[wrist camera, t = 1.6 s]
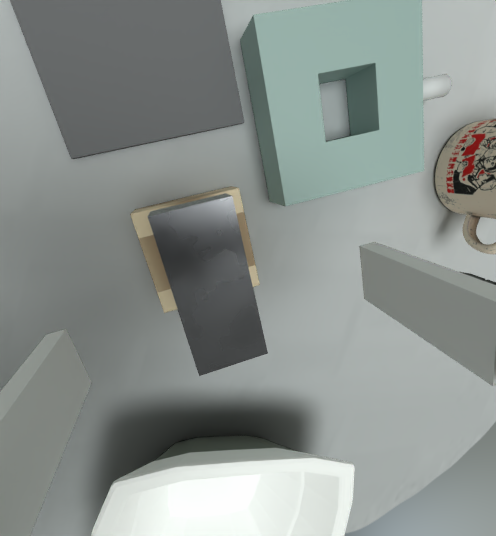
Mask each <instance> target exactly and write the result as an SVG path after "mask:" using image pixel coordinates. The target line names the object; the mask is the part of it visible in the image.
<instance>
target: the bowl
mask: <svg viewBox="0 0 496 536" xmlns="http://www.w3.org/2000/svg"><path fill="white" fill-rule="evenodd" d="M353 485H354V465H353V464H352V463H351V462H347V461H342V460H337V459H333V458H328V457H323V456H318V455H314V454H309V453H304V452H298V451H294V450H292V449H289V448H286V447H284V446H281V445H278V444H276V443H273V442H271V441H268V440H265V439H262V438H257V437H252V436H220V437H200V438H194V439H190V440H186V441H181V442H178V443H175V444H174V445H173V446H172V447H171V448H169V449H168V450H167V451H166V452H165V453H163V454H162V455H161V456H160V457H159V458H157V459H156V460H155V461H153V462H151V463H149V464H147V465H145V466H143V467H141V468H139V469H137V470H135V471H133V472H131V473H129V474H127V475H125V476H123V477H121V478H119V479H117V480H115V481H114V482H113V483H112V485H111V487H110V489H109V492H108V494H107V497H106V499H105V501H104V504H103V506H102V508H101V511H100V513H99V515H98V518H97V520H96V522H95V525H94V527H93V530H92V535H91V536H344V534H345V530H346V526H347V522H348V518H349V514H350V510H351V506H352V502H353Z"/></svg>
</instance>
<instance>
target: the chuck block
mask: <svg viewBox="0 0 496 536" xmlns="http://www.w3.org/2000/svg"><path fill="white" fill-rule="evenodd" d="M240 42H241V48H242V53H243V59H244V64H245V70H246V75H247V80H248V86H249V91H250V97H251V102H252V107H253V113H254V118H255V124H256V129H257V135H258V140H259V145H260V151H261V156H262V162H263V167H264V172H265V178H266V183H267V189H268V194H269V200H270V202H273V203H276V204H280V205H283V206H289V205H293V204H297V203H301V202H304V201H308V200H312V199H316V198H320V197H324V196H328V195H332V194H336V193H339V192H343V191H347V190H351V189H355V188H359V187H363V186H367V185H371V184H375V183H378V182H382V181H386V180H390V179H394V178H398V177H402V176H406V175H410V174H413V173H417V172H421V171H424V121H423V101H425V100H430V99H435V98H439V97H444V96H446V95H447V94H448V93H449V91H450V89H451V86H452V80H451V77H450V76H449V75H447V74H444V75H439V76H434V77H429V78H424V79H423V48H422V0H347V1H340V2H334V3H327V4H321V5H314V6H308V7H301V8H295V9H288V10H282V11H275V12H269V13H262V14H256V15H253V17H252V19H251V21H250V22H249V24H248V26H247V28H246V30H245V32H244V34H243V36H242V38H241V40H240ZM342 79H346V89H347V100H348V111H349V122H350V134H351V136H347V137H343V138H339V139H334V140H330V141H326V140H325V131H324V123H323V114H322V105H321V97H320V88H319V84H321V83H326V82H331V81H337V80H342Z"/></svg>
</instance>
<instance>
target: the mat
mask: <svg viewBox="0 0 496 536" xmlns="http://www.w3.org/2000/svg"><path fill="white" fill-rule="evenodd" d="M10 1H11V4H12V6H13V9H14V11H15V14H16V17H17V19H18V22H19V24H20V27H21V30H22V32H23V35H24V37H25V40H26V43H27V45H28V48H29V50H30V53H31V56H32V58H33V61H34V63H35V66H36V68H37V71H38V74H39V76H40V79H41V81H42V84H43V87H44V89H45V92H46V94H47V97H48V100H49V102H50V105H51V107H52V110H53V113H54V115H55V118H56V120H57V123H58V126H59V128H60V131H61V133H62V136H63V138H64V141H65V144H66V146H67V149H68V151H69V154H70V157H71V159H75V158H80V157H84V156H89V155H94V154H99V153H103V152H108V151H113V150H118V149H123V148H127V147H132V146H137V145H142V144H147V143H151V142H156V141H161V140H166V139H171V138H175V137H180V136H185V135H190V134H195V133H199V132H204V131H209V130H214V129H218V128H223V127H228V126H233V125H238V124H242V123H244V118H243V113H242V108H241V102H240V97H239V92H238V87H237V82H236V77H235V72H234V67H233V62H232V56H231V51H230V46H229V41H228V36H227V31H226V26H225V21H224V15H223V10H222V5H221V0H10Z"/></svg>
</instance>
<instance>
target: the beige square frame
mask: <svg viewBox="0 0 496 536" xmlns="http://www.w3.org/2000/svg"><path fill="white" fill-rule="evenodd" d="M224 193H226V194H229V195H231V196H232V197H233V201H234V206H235V210H236V214H237V219H238V223H239V228H240V232H241V237H242V241H243V246H244V250H245V254H246V259H247V263H248V268H249V272H250V277H251V281H252V286H253V287H254V286H258V285H260V284H259V279H258V274H257V270H256V265H255V261H254V256H253V251H252V247H251V242H250V237H249V233H248V228H247V223H246V219H245V214H244V210H243V205H242V200H241V196H240V191H239V188H237V187H232V186H231V187H227V188H222V189H218V190H214V191H210V192H206V193H202V194H197V195H193V196H189V197H185V198H181V199H176V200H172V201H168V202H164V203H160V204H156V205H151V206H147V207H143V208H139V209H135V210H134V211H133V212H132V213H131V214H130V215H131V218H132V221H133V224H134V227H135V229H136V232H137V235H138V238H139V241H140V244H141V247H142V250H143V253H144V256H145V259H146V262H147V264H148V267H149V270H150V273H151V276H152V279H153V282H154V285H155V288H156V291H157V294H158V296H159V299H160V302H161V305H162V308H163V311H164V313H166V312H169V311H173V310H176V309H177V306H176V303H175V299H174V296H173V293H172V290H171V287H170V284H169V281H168V278H167V275H166V272H165V269H164V266H163V263H162V259H161V256H160V253H159V250H158V247H157V244H156V241H155V238H154V235H153V232H152V229H151V226H150V223H149V219H148V215H149V213H150V211H154V210H158V209H163V208H167V207H171V206H175V205H179V204H183V203H187V202H191V201H196V200H200V199H204V198H208V197H212V196H216V195H220V194H224Z"/></svg>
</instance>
